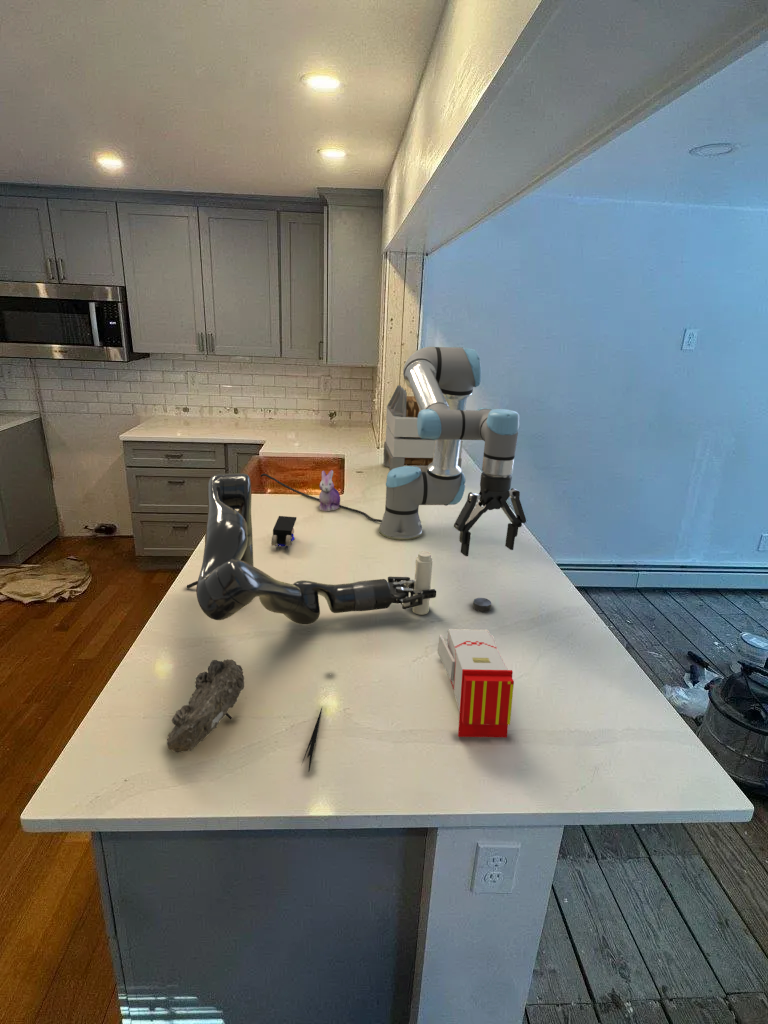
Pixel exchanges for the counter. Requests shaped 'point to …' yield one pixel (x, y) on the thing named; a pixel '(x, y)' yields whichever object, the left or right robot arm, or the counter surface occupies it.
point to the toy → (478, 682)
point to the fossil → (206, 705)
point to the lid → (482, 604)
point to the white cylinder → (423, 579)
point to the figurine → (328, 493)
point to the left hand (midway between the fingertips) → (431, 588)
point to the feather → (313, 740)
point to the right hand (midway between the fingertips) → (487, 551)
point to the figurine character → (283, 531)
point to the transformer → (406, 434)
